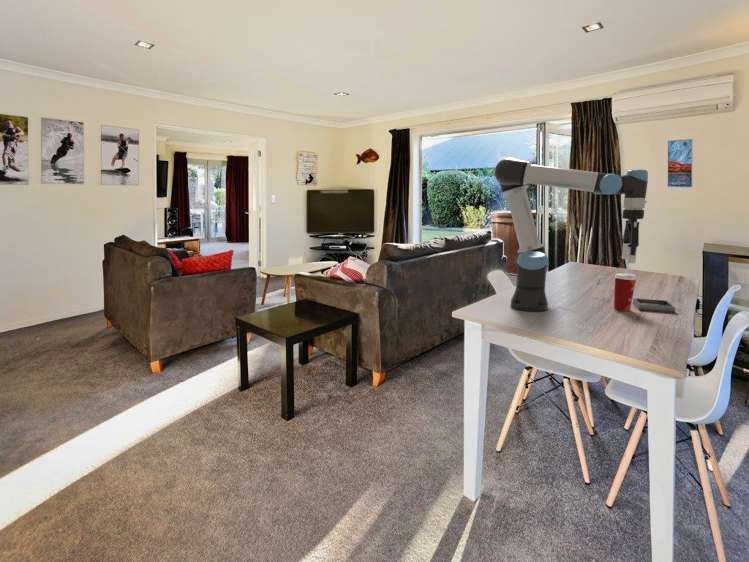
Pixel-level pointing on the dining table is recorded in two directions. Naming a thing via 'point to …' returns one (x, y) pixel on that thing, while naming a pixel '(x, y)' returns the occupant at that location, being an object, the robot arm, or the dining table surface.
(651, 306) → the grey square tray
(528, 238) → the robot arm
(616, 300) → the coffee cup
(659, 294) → the dining table surface
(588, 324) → the dining table surface
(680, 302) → the dining table surface
